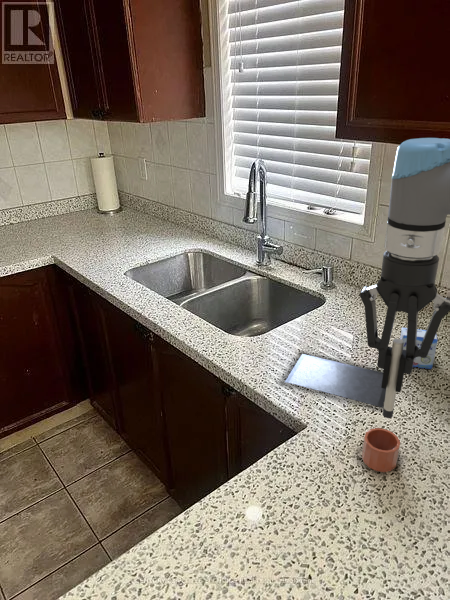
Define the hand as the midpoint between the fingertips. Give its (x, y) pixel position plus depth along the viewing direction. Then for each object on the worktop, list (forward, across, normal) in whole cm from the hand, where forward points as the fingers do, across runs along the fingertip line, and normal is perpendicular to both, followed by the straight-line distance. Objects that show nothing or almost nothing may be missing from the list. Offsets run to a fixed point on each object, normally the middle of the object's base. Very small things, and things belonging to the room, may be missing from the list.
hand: (391, 385), depth 75 cm
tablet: (+18, -13, +21) cm, 31 cm away
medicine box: (+18, +2, +37) cm, 41 cm away
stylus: (+6, 0, 0) cm, 6 cm away
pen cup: (+18, 0, 0) cm, 18 cm away
